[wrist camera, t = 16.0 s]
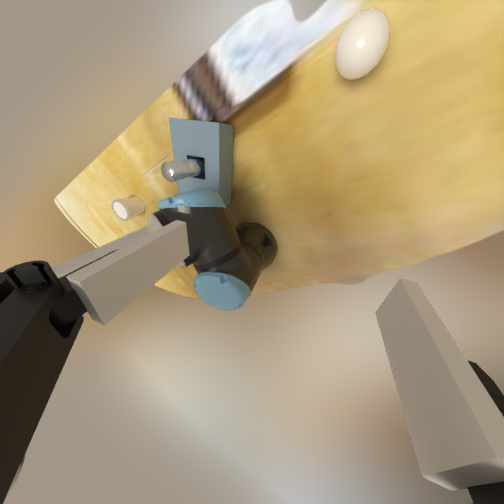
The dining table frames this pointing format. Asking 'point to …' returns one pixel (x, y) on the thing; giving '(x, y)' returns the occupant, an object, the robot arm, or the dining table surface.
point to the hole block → (205, 154)
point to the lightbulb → (362, 43)
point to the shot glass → (128, 207)
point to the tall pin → (183, 169)
